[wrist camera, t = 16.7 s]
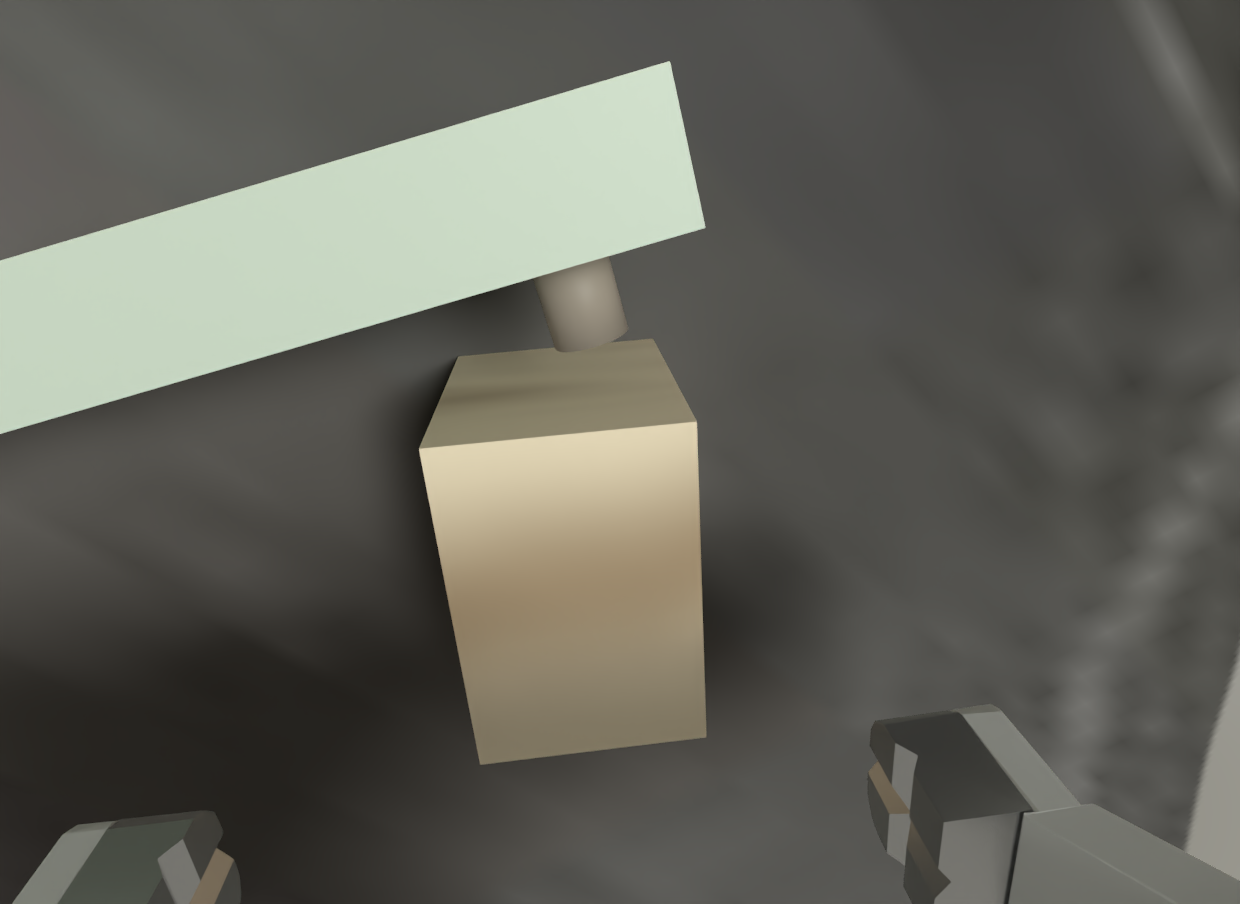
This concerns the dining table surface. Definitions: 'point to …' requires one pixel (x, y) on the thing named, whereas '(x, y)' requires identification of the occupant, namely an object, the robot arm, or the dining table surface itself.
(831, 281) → the dining table surface
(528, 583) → the block
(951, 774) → the robot arm
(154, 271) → the door
